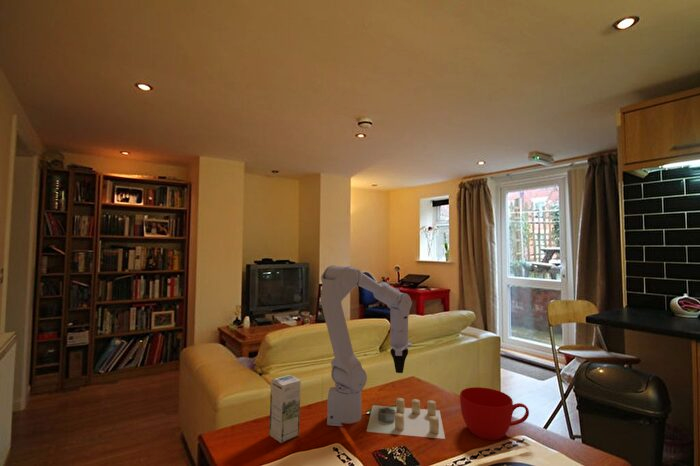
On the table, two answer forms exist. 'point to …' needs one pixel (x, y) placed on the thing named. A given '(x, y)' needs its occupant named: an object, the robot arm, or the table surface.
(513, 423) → the ceramic cup
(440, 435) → the board
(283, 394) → the syrup box
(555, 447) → the table surface
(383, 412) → the grey faceted polyhedron
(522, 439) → the table surface
